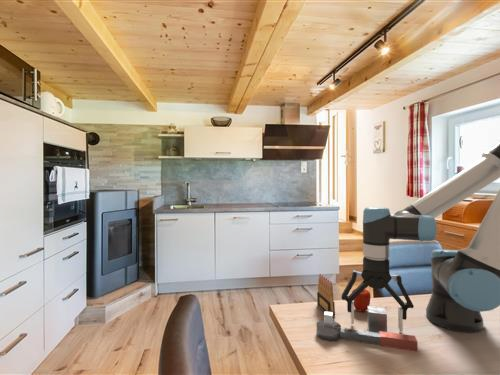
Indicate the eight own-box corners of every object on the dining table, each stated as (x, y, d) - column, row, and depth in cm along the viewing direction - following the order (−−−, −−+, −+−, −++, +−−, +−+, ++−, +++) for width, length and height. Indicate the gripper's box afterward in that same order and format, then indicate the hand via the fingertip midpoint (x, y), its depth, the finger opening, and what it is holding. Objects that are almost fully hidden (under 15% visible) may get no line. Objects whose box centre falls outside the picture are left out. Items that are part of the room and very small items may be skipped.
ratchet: (413, 341, 81) (413, 318, 81) (419, 355, 74) (419, 330, 74) (317, 328, 89) (317, 307, 89) (315, 339, 83) (315, 317, 83)
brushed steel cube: (385, 326, 89) (384, 307, 89) (387, 334, 85) (386, 314, 85) (367, 324, 91) (367, 305, 91) (369, 332, 86) (368, 312, 86)
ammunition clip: (335, 317, 96) (334, 282, 96) (330, 317, 96) (329, 282, 96) (321, 304, 107) (321, 272, 107) (317, 305, 107) (316, 273, 107)
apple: (358, 315, 98) (358, 293, 98) (348, 307, 104) (348, 287, 104) (374, 313, 99) (374, 291, 99) (363, 306, 105) (363, 285, 105)
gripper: (418, 257, 87) (418, 326, 88) (334, 251, 95) (334, 314, 96) (425, 263, 80) (425, 338, 80) (333, 256, 88) (333, 325, 88)
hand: (375, 325), depth 88 cm, fingers open, 13 cm apart
